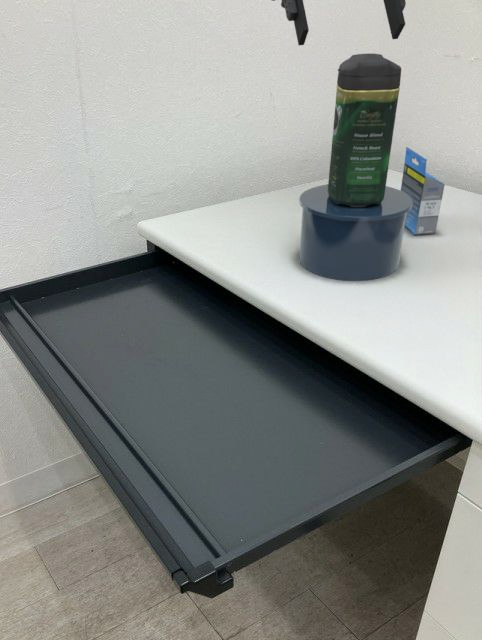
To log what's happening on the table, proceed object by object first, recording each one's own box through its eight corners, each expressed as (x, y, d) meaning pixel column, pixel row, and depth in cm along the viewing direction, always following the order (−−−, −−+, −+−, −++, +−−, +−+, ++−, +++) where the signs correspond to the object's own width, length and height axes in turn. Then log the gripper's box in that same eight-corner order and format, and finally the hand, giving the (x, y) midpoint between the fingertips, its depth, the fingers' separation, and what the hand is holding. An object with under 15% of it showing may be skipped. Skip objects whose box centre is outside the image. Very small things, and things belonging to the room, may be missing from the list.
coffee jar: (388, 208, 82) (410, 57, 72) (330, 209, 83) (343, 59, 72) (377, 188, 90) (395, 49, 80) (324, 188, 91) (335, 51, 80)
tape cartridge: (436, 234, 99) (451, 158, 92) (414, 235, 99) (426, 159, 92) (416, 216, 107) (428, 144, 100) (394, 218, 106) (405, 146, 99)
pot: (388, 239, 98) (396, 181, 93) (415, 280, 85) (427, 215, 79) (291, 242, 99) (294, 184, 93) (302, 283, 85) (306, 218, 80)
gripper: (396, -72, 90) (425, 49, 86) (235, -65, 88) (258, 60, 84) (417, -122, 83) (450, 7, 79) (243, -116, 80) (268, 18, 76)
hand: (351, 35), depth 81 cm, fingers open, 13 cm apart
